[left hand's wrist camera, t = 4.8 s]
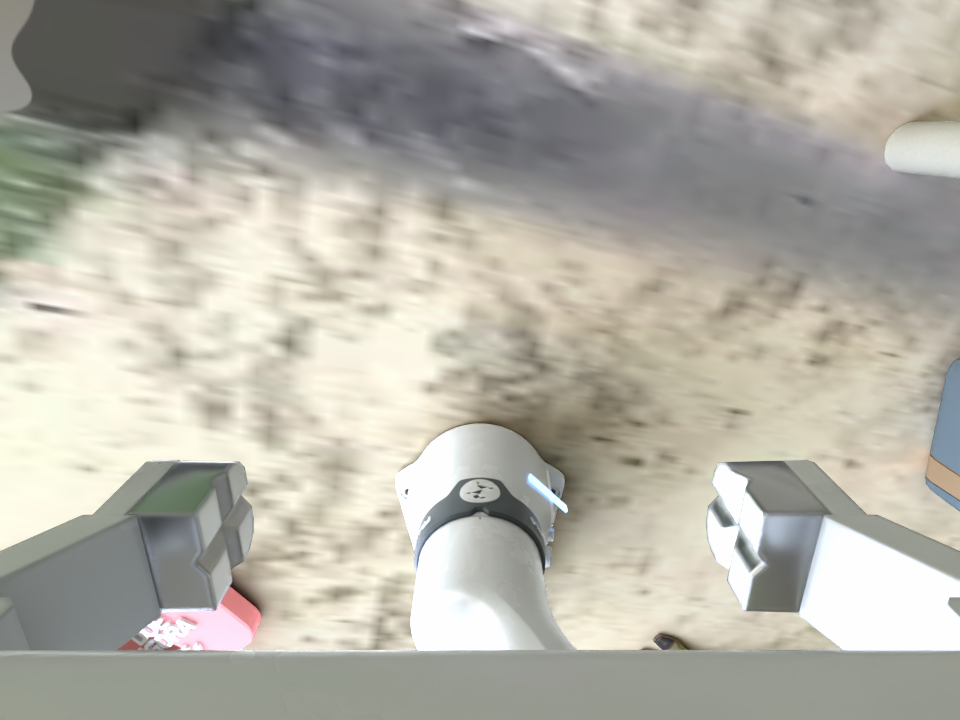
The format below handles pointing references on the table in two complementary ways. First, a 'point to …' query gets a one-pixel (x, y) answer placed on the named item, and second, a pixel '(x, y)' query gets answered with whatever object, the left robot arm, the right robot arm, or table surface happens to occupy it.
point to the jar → (925, 149)
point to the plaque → (201, 628)
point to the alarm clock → (947, 443)
